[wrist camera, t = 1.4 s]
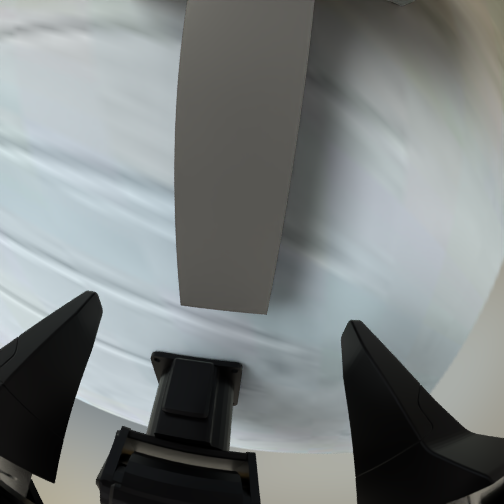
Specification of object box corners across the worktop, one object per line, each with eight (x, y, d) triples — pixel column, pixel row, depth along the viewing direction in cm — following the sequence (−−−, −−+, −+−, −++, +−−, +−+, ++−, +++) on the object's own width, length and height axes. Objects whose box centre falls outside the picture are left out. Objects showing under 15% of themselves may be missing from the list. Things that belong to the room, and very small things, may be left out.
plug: (266, 271, 14) (266, 314, 11) (194, 264, 14) (180, 305, 11) (308, -53, 5) (321, -86, 3) (220, -59, 5) (209, -93, 2)
